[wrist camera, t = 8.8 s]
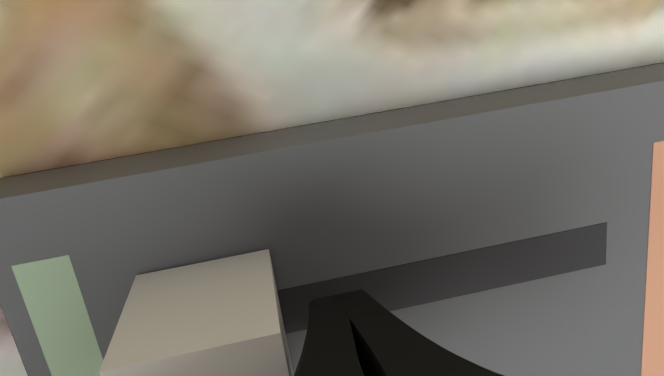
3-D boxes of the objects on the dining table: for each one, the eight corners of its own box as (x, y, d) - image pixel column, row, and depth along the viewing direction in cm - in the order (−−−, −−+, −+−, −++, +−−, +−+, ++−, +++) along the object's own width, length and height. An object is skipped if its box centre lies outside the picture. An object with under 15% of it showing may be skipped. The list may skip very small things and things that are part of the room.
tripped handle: (172, 402, 13) (151, 529, 10) (135, 275, 12) (99, 372, 9) (293, 374, 14) (312, 488, 10) (268, 249, 13) (280, 332, 9)
